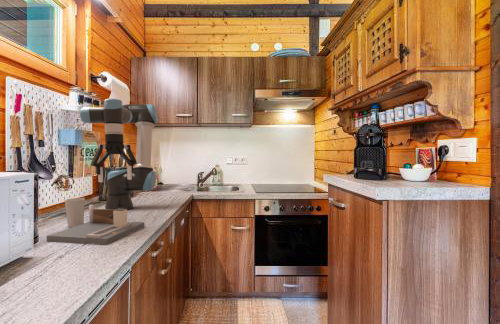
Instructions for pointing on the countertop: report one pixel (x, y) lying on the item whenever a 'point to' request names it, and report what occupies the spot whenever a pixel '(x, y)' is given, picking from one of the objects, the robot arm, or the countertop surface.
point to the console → (94, 231)
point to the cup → (75, 211)
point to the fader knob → (119, 217)
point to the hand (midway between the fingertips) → (115, 180)
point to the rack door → (103, 215)
